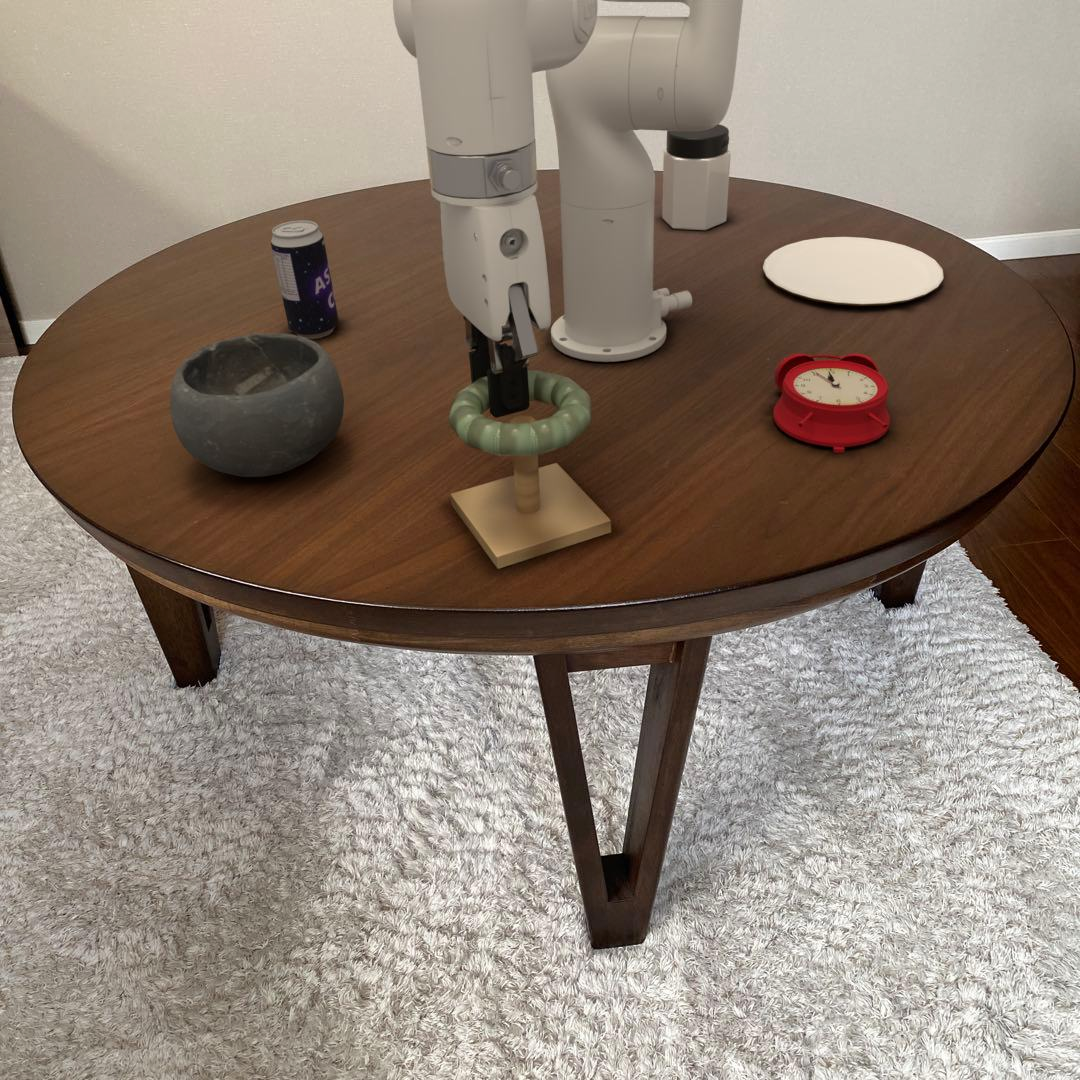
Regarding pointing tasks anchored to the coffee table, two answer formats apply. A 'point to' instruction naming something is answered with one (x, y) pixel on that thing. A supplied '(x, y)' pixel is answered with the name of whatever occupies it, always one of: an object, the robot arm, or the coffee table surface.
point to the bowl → (257, 403)
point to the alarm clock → (831, 400)
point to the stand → (529, 511)
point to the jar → (696, 178)
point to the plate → (853, 271)
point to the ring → (522, 435)
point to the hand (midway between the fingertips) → (500, 400)
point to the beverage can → (304, 278)
